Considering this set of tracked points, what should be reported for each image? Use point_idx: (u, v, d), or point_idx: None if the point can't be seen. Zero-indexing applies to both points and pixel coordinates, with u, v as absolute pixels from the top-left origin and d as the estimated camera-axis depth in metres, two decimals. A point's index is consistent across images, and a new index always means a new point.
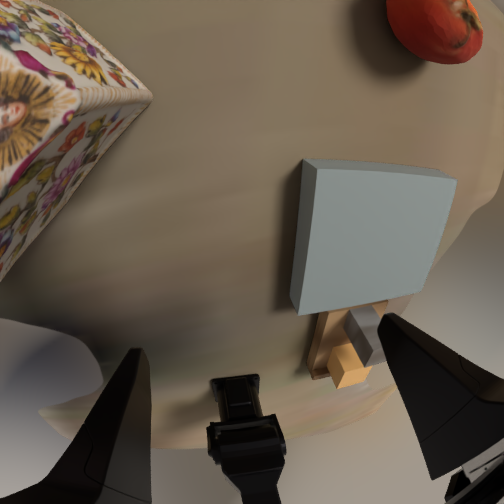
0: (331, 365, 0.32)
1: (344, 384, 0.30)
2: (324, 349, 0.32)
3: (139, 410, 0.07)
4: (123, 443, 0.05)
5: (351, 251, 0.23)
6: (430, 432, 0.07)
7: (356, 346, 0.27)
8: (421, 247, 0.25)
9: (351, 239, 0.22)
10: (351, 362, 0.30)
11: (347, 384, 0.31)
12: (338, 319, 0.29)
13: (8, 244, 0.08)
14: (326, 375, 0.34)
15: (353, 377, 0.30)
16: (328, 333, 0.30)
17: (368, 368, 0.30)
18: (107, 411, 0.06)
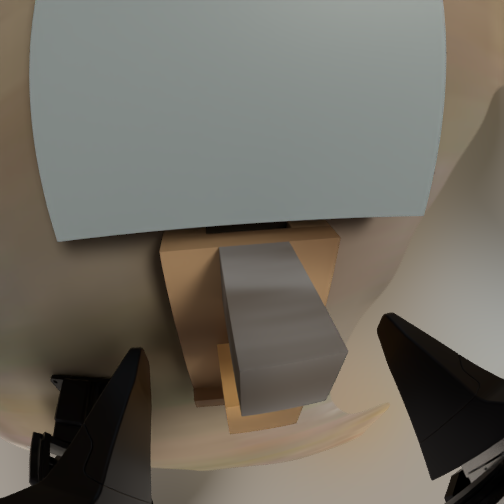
0: None
1: (243, 427, 0.13)
2: (197, 349, 0.15)
3: (139, 410, 0.07)
4: (123, 443, 0.05)
5: (139, 37, 0.06)
6: (430, 432, 0.07)
7: (230, 348, 0.10)
8: (397, 67, 0.07)
9: (131, 7, 0.05)
10: None
11: (253, 428, 0.14)
12: (197, 274, 0.12)
13: None
14: (223, 401, 0.17)
15: (263, 418, 0.13)
16: (186, 311, 0.13)
17: None
18: (107, 411, 0.06)
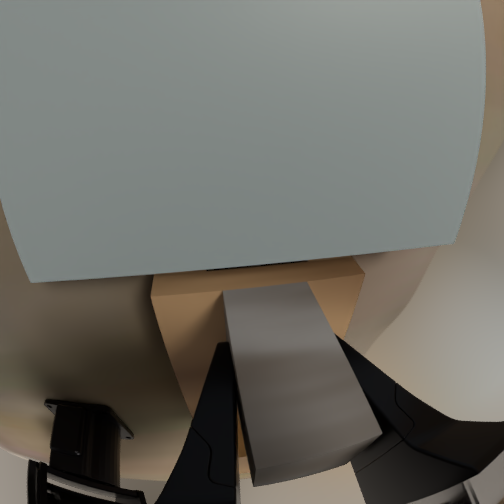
0: None
1: None
2: (198, 390, 0.13)
3: (236, 405, 0.07)
4: (236, 440, 0.06)
5: (114, 23, 0.04)
6: (363, 465, 0.06)
7: (239, 412, 0.08)
8: (438, 71, 0.06)
9: None
10: None
11: None
12: (196, 319, 0.10)
13: None
14: None
15: None
16: (185, 355, 0.11)
17: None
18: (212, 409, 0.06)
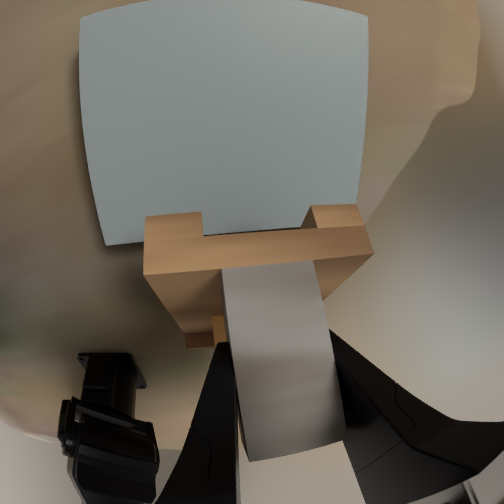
0: None
1: None
2: (190, 319, 0.14)
3: (236, 405, 0.07)
4: (236, 440, 0.06)
5: (156, 123, 0.12)
6: (363, 464, 0.06)
7: None
8: (321, 125, 0.14)
9: (149, 102, 0.12)
10: None
11: None
12: (192, 285, 0.10)
13: None
14: (214, 347, 0.18)
15: None
16: (179, 303, 0.11)
17: None
18: (212, 409, 0.06)
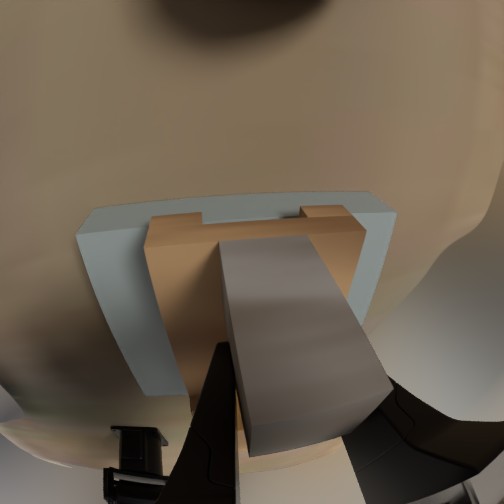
0: None
1: (246, 446, 0.11)
2: (192, 358, 0.13)
3: None
4: (236, 440, 0.06)
5: None
6: (363, 464, 0.06)
7: None
8: None
9: None
10: None
11: None
12: (191, 274, 0.10)
13: None
14: None
15: None
16: (178, 317, 0.11)
17: None
18: (211, 409, 0.06)
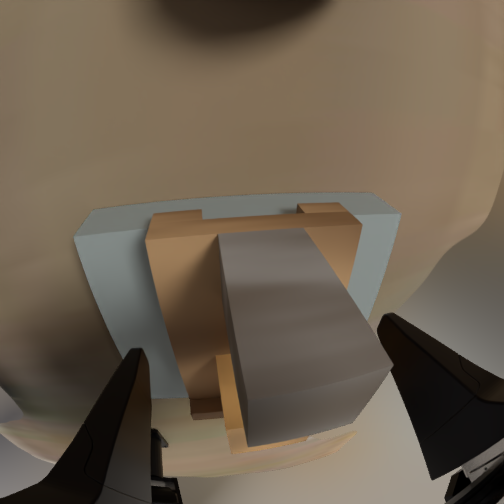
0: None
1: (247, 447, 0.11)
2: (192, 357, 0.13)
3: (139, 410, 0.07)
4: (123, 443, 0.05)
5: None
6: (430, 432, 0.07)
7: (232, 360, 0.08)
8: None
9: None
10: None
11: (258, 448, 0.11)
12: (191, 268, 0.10)
13: None
14: (223, 414, 0.15)
15: None
16: (178, 312, 0.11)
17: None
18: (107, 411, 0.06)
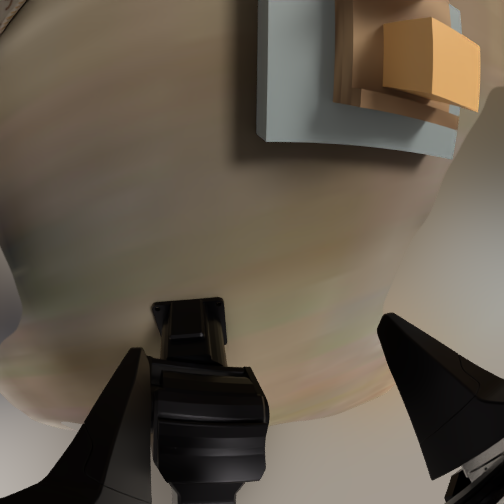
0: (394, 63, 0.10)
1: (444, 80, 0.08)
2: (366, 18, 0.10)
3: (139, 410, 0.07)
4: (123, 443, 0.05)
5: None
6: (430, 432, 0.07)
7: None
8: None
9: (332, 22, 0.11)
10: None
11: (451, 91, 0.09)
12: None
13: None
14: (390, 104, 0.12)
15: (458, 68, 0.08)
16: None
17: (475, 55, 0.07)
18: (107, 411, 0.06)
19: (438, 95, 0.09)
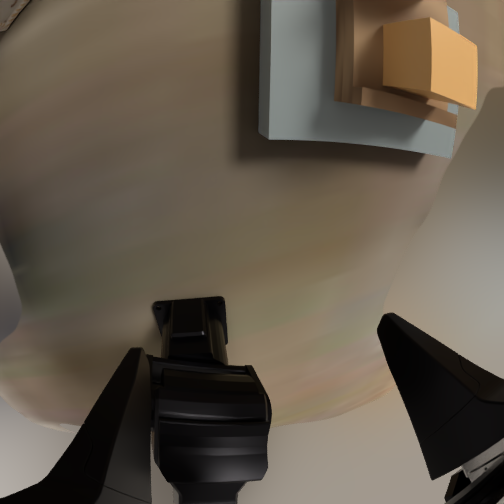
0: (394, 62, 0.11)
1: (442, 78, 0.09)
2: (366, 19, 0.10)
3: (139, 410, 0.07)
4: (123, 443, 0.05)
5: None
6: (430, 432, 0.07)
7: None
8: None
9: (333, 23, 0.12)
10: None
11: (449, 89, 0.09)
12: None
13: None
14: (390, 102, 0.12)
15: (455, 67, 0.08)
16: None
17: (473, 54, 0.08)
18: (107, 411, 0.06)
19: (437, 92, 0.09)
